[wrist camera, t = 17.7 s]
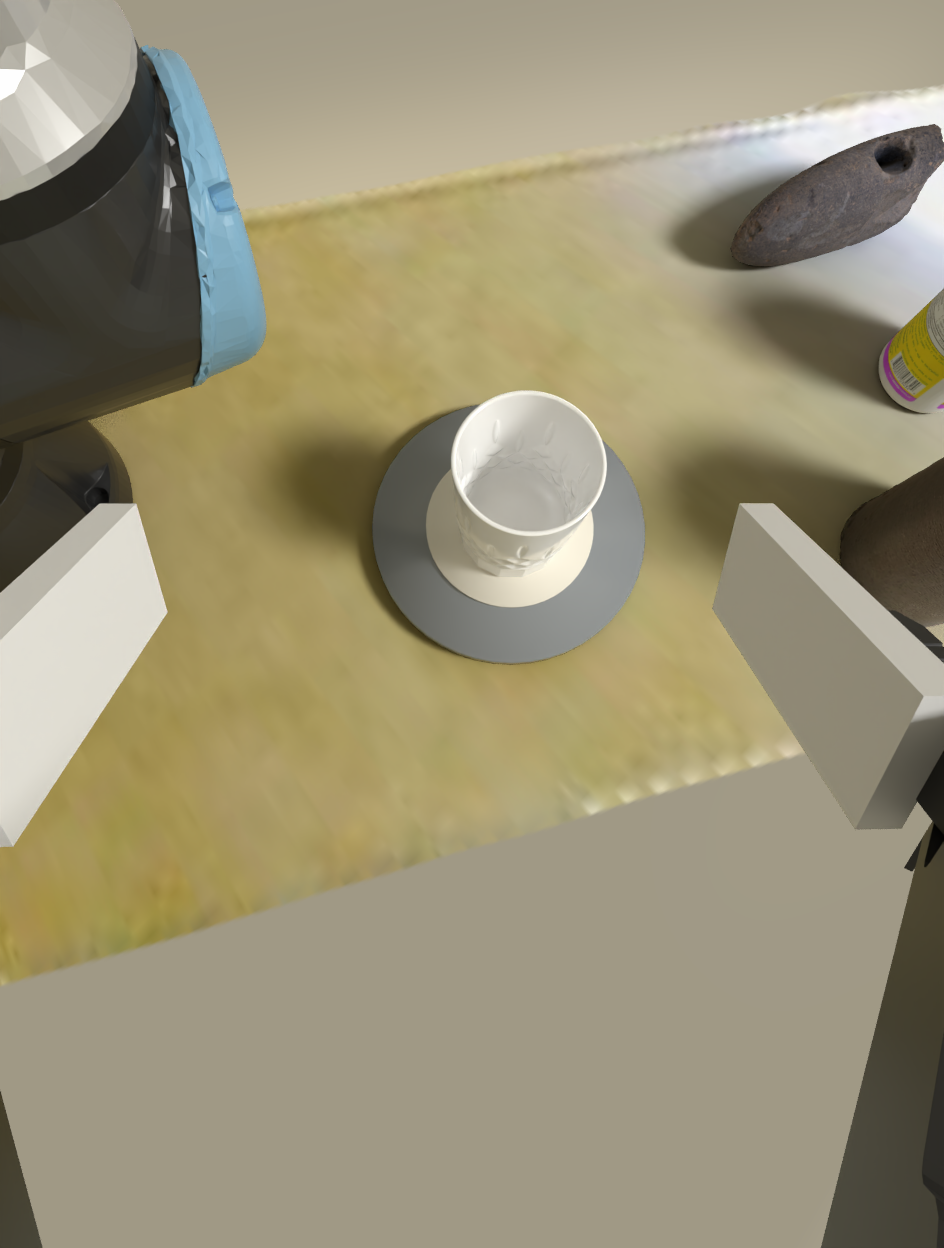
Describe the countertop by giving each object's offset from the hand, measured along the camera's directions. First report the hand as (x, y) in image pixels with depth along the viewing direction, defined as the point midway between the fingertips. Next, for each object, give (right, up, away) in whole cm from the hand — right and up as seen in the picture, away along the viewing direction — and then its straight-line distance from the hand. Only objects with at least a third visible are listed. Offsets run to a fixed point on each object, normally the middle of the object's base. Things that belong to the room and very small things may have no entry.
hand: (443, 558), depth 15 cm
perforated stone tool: (+26, +28, +35) cm, 52 cm away
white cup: (+3, +5, +28) cm, 29 cm away
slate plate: (+3, +5, +29) cm, 30 cm away
